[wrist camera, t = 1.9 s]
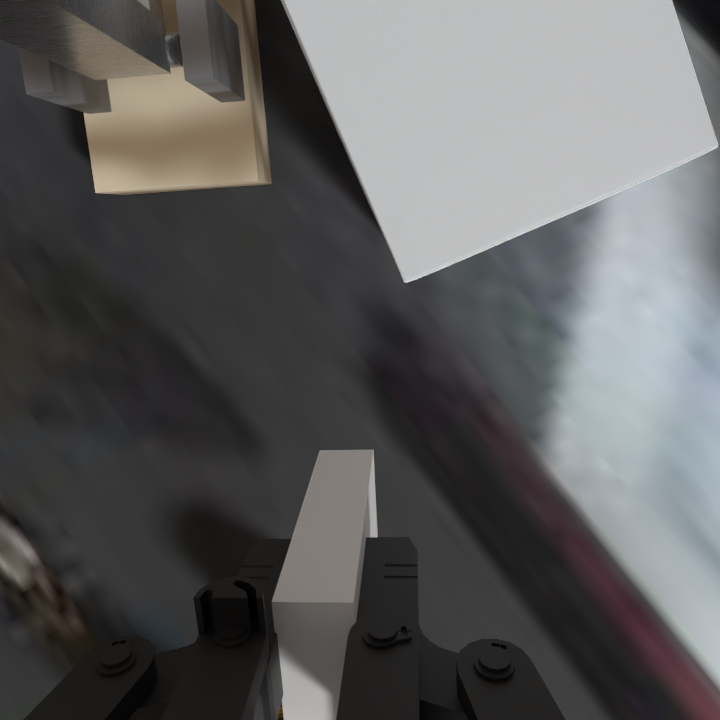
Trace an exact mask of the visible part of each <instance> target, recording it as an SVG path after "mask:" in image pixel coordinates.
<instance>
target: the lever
mask: <svg viewBox="0 0 720 720" xmlns="http://www.w3.org/2000/svg"><path fill="white" fill-rule="evenodd" d="M0 39H1V40H4V41H6V42H8V43H11V44H13V45H15V46H18V47H20V48H22V49H25V50H27V51H29V52H31V53H34V54H36V55H38V56H41V57H43V58H45V59H48V60H50V61H52V62H54V63H57V64H59V65H61V66H64V67H66V68H68V69H71V70H73V71H75V72H77V74H78V75H80V76H87V77H89V78H91V79H94V80H104V79H115V78H127V77H138V76H150V75H161V74H171V70H170V68H177V67H183V60H182V51H181V43H180V34H179V32H177V33H166V29H165V22H164V14H163V6H162V0H0Z"/></svg>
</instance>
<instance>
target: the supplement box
mask: <svg viewBox="0 0 720 720" xmlns="http://www.w3.org/2000/svg"><path fill="white" fill-rule="evenodd" d="M281 2H282V4H283V7H284V9H285V11H286V14H287V16H288V19H289V21H290V23H291V26H292V28H293V30H294V33H295V35H296V37H297V40H298V42H299V44H300V47H301V49H302V51H303V54H304V56H305V58H306V61H307V63H308V65H309V68H310V70H311V72H312V75H313V77H314V79H315V82H316V84H317V86H318V89H319V91H320V93H321V95H322V98H323V100H324V102H325V105H326V107H327V109H328V112H329V114H330V116H331V118H332V121H333V123H334V125H335V128H336V130H337V132H338V135H339V137H340V139H341V141H342V144H343V146H344V148H345V151H346V153H347V155H348V158H349V160H350V162H351V165H352V167H353V169H354V172H355V174H356V176H357V178H358V180H359V183H360V185H361V187H362V189H363V192H364V194H365V196H366V199H367V201H368V203H369V205H370V208H371V210H372V212H373V214H374V216H375V218H376V221H377V223H378V225H379V227H380V229H381V231H382V234H383V236H384V238H385V240H386V242H387V245H388V247H389V249H390V251H391V253H392V256H393V258H394V260H395V262H396V264H397V267H398V269H399V271H400V273H401V276H402V278H403V281H404V282H410V281H413V280H416V279H418V278H421V277H423V276H426V275H428V274H431V273H433V272H436V271H438V270H441V269H443V268H445V267H447V266H450V265H452V264H454V263H457V262H459V261H461V260H464V259H466V258H468V257H471V256H473V255H475V254H478V253H480V252H482V251H485V250H487V249H489V248H491V247H494V246H496V245H498V244H501V243H503V242H505V241H507V240H510V239H512V238H514V237H517V236H519V235H521V234H524V233H526V232H528V231H531V230H533V229H535V228H538V227H540V226H542V225H545V224H547V223H549V222H552V221H554V220H556V219H559V218H561V217H563V216H566V215H568V214H570V213H573V212H575V211H577V210H580V209H582V208H584V207H587V206H589V205H592V204H594V203H596V202H598V201H601V200H603V199H605V198H607V197H610V196H612V195H614V194H617V193H619V192H621V191H623V190H626V189H628V188H630V187H633V186H635V185H637V184H639V183H642V182H644V181H646V180H649V179H651V178H653V177H655V176H658V175H660V174H662V173H665V172H667V171H669V170H671V169H674V168H676V167H678V166H680V165H683V164H685V163H687V162H689V161H691V160H693V159H695V158H697V157H699V156H701V155H704V154H706V153H708V152H710V151H712V150H714V149H716V148H717V147H718V145H719V144H718V141H717V138H716V136H715V133H714V129H713V126H712V123H711V120H710V117H709V114H708V111H707V107H706V104H705V101H704V98H703V95H702V92H701V89H700V86H699V83H698V79H697V76H696V73H695V70H694V67H693V64H692V61H691V58H690V54H689V51H688V48H687V45H686V42H685V39H684V36H683V33H682V30H681V27H680V24H679V20H678V17H677V14H676V11H675V8H674V5H673V2H672V0H281Z"/></svg>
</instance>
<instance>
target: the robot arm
mask: <svg viewBox="0 0 720 720" xmlns="http://www.w3.org/2000/svg"><path fill="white" fill-rule="evenodd" d="M194 604H195V611H196V618H197V625H198V631H199V635H198V637H197V640H196V642H195V643H193V644H191V645H189V646H186V647H182V648H179V649H175V650H171V651H166V652H162V653H157V654H155V651H154V648H153V646H152V645H151V643H150V642H149V641H148V640H145V639H143V638H141V637H129V636H126V637H122V638H117V639H112V640H110V641H108V642H106V643H104V644H102V645H99V646H98V647H97V648H95V649H94V650H93V651H91V652H90V653H89V654H88V655H87V656H86V657H85V658H84V659H83V660H82V661H81V662H80V663H79V664H78V665H77V666H76V667H75V668H74V669H73V670H72V671H71V672H70V673H69V674H68V675H67V676H66V677H65V678H64V679H63V680H62V681H61V682H60V683H59V684H58V685H57V686H56V687H55V688H54V689H53V690H52V691H51V692H50V693H49V694H48V695H47V696H46V697H45V698H44V699H43V700H42V701H41V702H40V703H39V704H38V705H37V706H36V708H35V709H34V710H33V711H32V712H31V713H30V714H29V715H28V716H27V717H26V718H25V719H24V720H277V718H278V714H279V710H280V706H281V702H282V707H283V717H284V720H565V718H564V716H563V715H562V713H561V711H560V709H559V708H558V706H557V704H556V702H555V701H554V699H553V697H552V695H551V694H550V692H549V690H548V688H547V687H546V685H545V683H544V682H543V680H542V678H541V676H540V675H539V673H538V671H537V669H536V668H535V666H534V664H533V662H532V661H531V659H530V658H529V657H528V656H527V654H526V653H525V652H524V651H523V650H522V649H520V648H519V647H517V646H515V645H513V644H512V643H510V642H506V641H502V640H498V639H481V640H478V641H475V642H471V643H469V644H468V645H467V646H465V647H464V648H463V649H462V650H460V653H456V652H452V651H449V650H446V649H443V648H440V647H438V646H437V645H435V644H433V643H432V642H430V641H429V640H428V639H427V638H426V637H425V636H424V635H423V633H422V631H421V629H420V626H419V594H418V556H417V549H416V547H415V546H414V545H413V543H412V542H411V540H410V539H409V538H408V537H377V516H376V495H375V474H374V452H373V450H320V451H319V454H318V457H317V461H316V464H315V467H314V470H313V473H312V476H311V479H310V483H309V486H308V489H307V492H306V495H305V498H304V501H303V505H302V508H301V511H300V514H299V517H298V520H297V524H296V527H295V530H294V533H293V536H292V539H261V540H260V541H259V542H257V543H256V544H255V545H254V546H253V547H252V548H251V549H250V550H249V551H248V552H247V554H246V556H245V559H244V561H243V563H242V568H240V571H239V573H238V575H237V576H235V577H226V578H222V579H219V580H216V581H213V582H211V583H209V584H208V585H206V586H204V587H203V588H201V589H200V590H199V591H198V593H197V594H196V595H195V596H194Z"/></svg>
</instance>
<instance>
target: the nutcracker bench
mask: <svg viewBox="0 0 720 720" xmlns="http://www.w3.org/2000/svg"><path fill="white" fill-rule="evenodd" d="M162 6H163V14H164V22H165V29H166V33H177V32H179V34H180V43H181V51H182V60H183V67H177V68H170V70H171V74H161V75H150V76H138V77H127V78H115V79H104V80H94V79H91V78H89V77H87V76H80V75H78V74H77V72H75V71H73V70H71V69H68V68H66V67H64V66H61V65H59V64H57V63H54V62H52V61H50V60H48V59H45V58H43V57H41V56H38V55H36V54H34V53H31V52H29V51H27V50H25V49H22V48H20V47H18V48H19V54H20V60H21V66H22V72H23V78H24V84H25V90H26V94H28V95H31V96H34V97H37V98H40V99H43V100H46V101H50V102H53V103H56V104H59V105H62V106H65V107H69V108H72V109H75V110H78V111H81V112H83V113H84V119H85V126H86V132H87V139H88V146H89V152H90V159H91V166H92V172H93V179H94V185H95V192H96V193H105V194H120V195H127V194H141V193H154V192H168V191H181V190H195V189H209V188H222V187H236V186H249V185H263V184H272V183H271V172H270V162H269V151H268V140H267V130H266V119H265V108H264V98H263V87H262V76H261V65H260V55H259V44H258V33H257V23H256V12H255V1H254V0H162Z"/></svg>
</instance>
